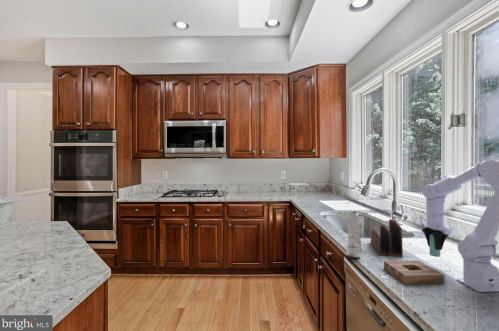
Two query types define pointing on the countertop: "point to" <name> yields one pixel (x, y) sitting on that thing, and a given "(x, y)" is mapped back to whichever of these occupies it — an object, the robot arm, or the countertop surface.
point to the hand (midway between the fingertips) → (434, 247)
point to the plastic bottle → (354, 236)
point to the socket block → (413, 272)
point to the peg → (433, 247)
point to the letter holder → (388, 240)
